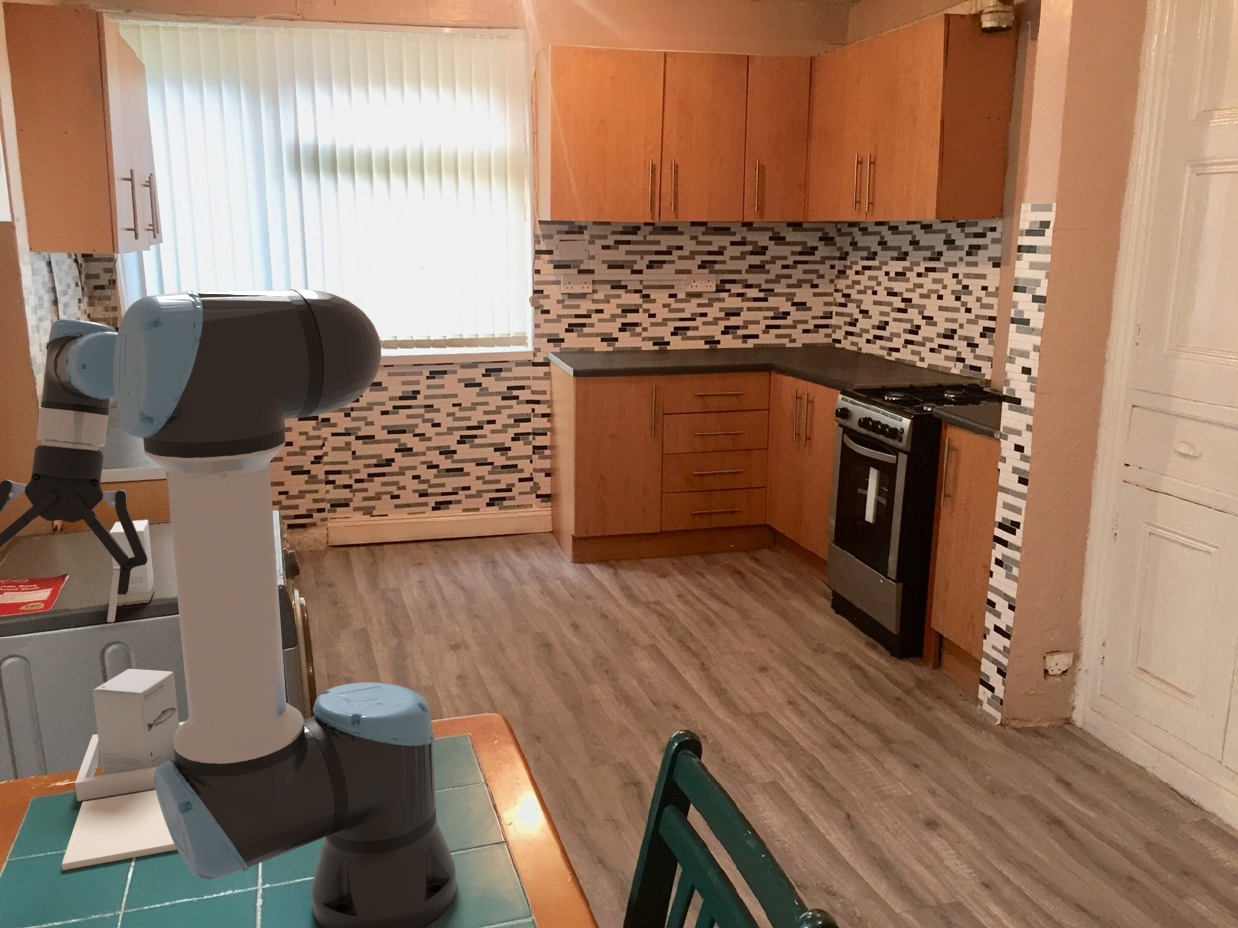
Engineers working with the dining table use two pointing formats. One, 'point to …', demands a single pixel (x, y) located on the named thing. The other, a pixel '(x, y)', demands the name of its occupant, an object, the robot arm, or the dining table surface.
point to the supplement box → (136, 720)
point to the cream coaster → (117, 830)
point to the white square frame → (109, 777)
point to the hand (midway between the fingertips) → (49, 618)
